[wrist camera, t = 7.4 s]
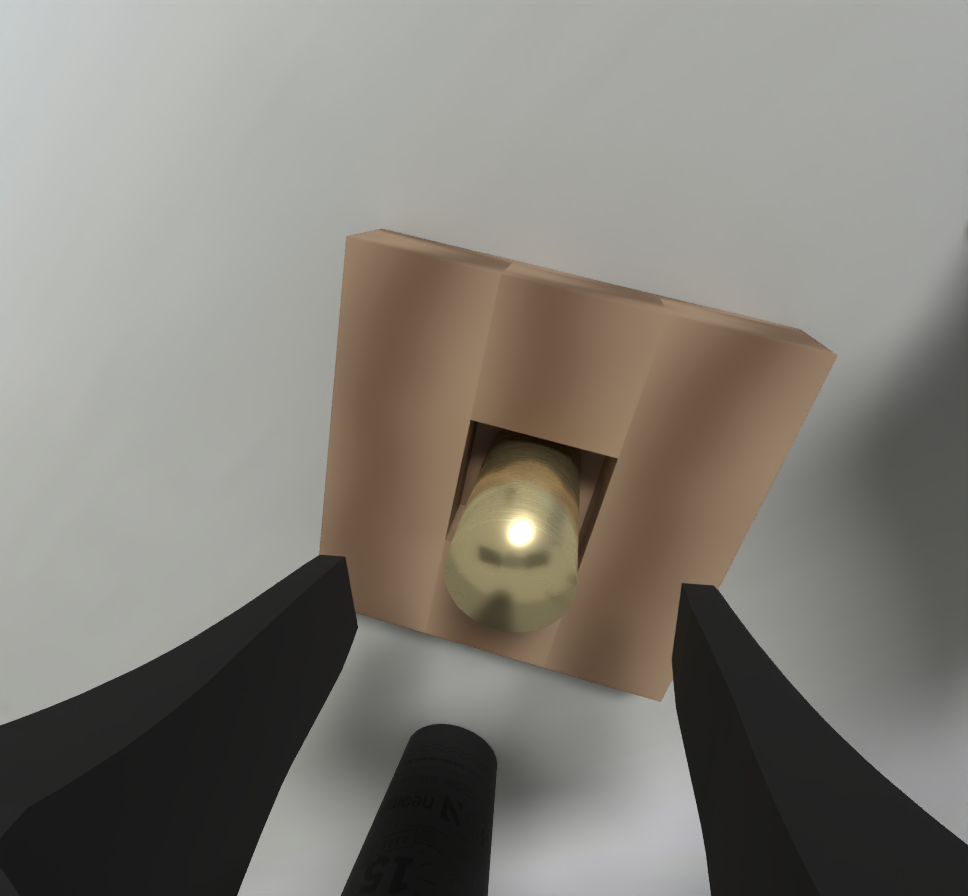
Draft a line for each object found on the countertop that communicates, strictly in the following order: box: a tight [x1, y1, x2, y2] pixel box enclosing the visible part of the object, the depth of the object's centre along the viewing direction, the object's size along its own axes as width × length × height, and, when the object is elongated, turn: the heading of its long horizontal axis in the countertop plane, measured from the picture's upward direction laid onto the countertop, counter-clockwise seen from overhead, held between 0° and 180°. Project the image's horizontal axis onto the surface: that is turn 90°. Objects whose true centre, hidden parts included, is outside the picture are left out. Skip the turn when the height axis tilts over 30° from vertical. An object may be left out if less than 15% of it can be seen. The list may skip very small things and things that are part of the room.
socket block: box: [319, 229, 838, 702], centre depth 20 cm, size 14×14×3 cm
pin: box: [443, 428, 581, 632], centre depth 18 cm, size 4×4×7 cm
